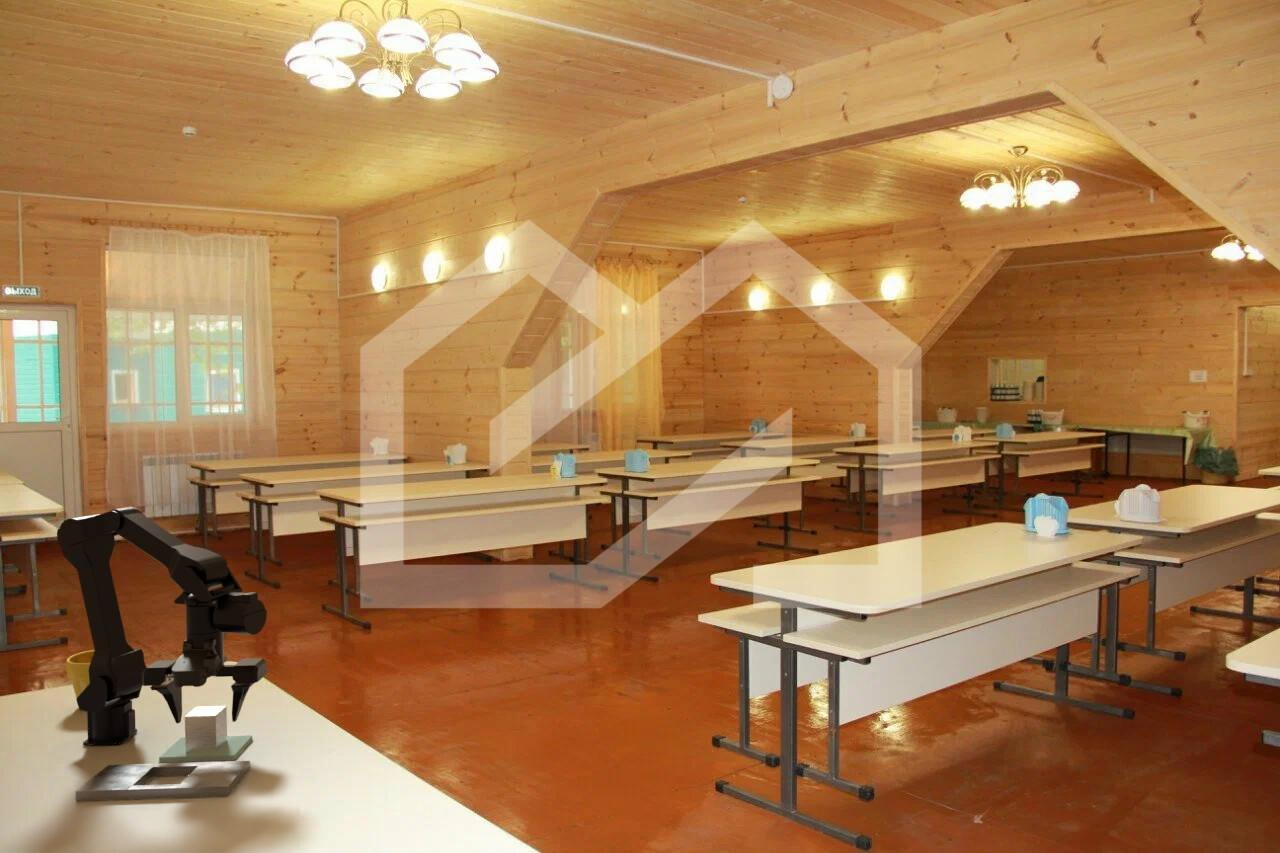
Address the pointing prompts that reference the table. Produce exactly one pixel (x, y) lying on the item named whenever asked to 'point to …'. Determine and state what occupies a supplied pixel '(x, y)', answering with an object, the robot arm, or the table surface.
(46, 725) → the table surface
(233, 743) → the teal pad
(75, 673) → the plant pot
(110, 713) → the robot arm
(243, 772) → the grey flat plate
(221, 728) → the pale wooden block
